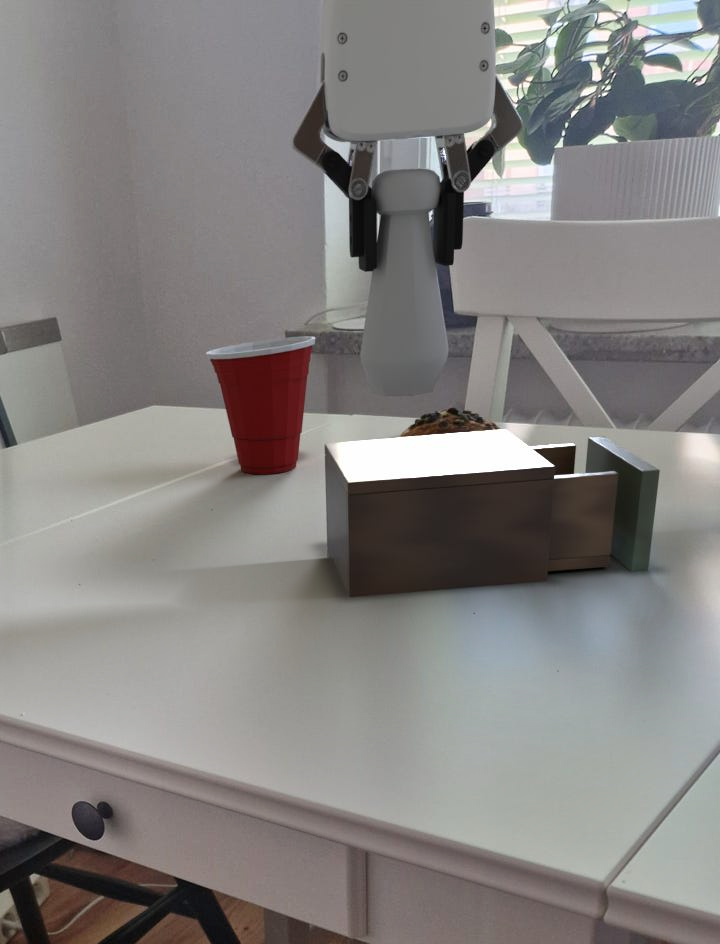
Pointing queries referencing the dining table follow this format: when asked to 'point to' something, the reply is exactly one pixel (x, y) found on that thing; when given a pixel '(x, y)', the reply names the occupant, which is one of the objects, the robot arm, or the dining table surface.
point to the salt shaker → (404, 289)
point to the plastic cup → (265, 399)
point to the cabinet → (437, 512)
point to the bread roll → (448, 423)
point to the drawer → (601, 507)
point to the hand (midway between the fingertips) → (405, 263)
